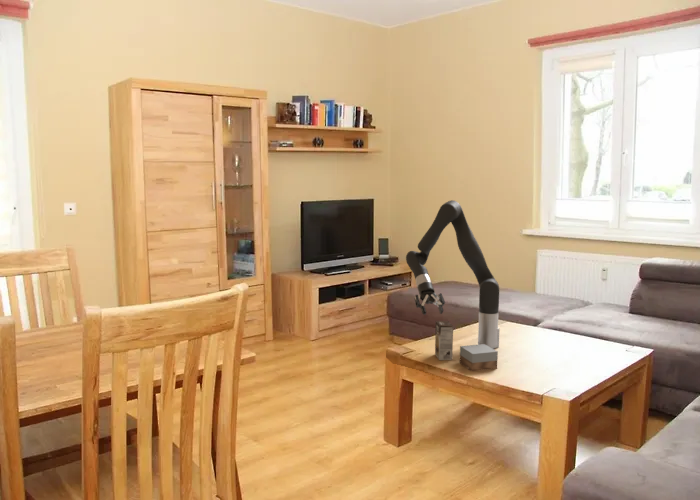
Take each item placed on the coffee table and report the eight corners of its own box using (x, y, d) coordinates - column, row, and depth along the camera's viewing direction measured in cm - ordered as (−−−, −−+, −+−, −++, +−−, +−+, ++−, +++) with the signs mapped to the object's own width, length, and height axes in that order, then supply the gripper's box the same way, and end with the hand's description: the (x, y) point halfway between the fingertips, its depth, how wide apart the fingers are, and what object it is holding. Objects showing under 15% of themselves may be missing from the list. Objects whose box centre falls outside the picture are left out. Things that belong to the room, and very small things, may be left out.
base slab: (483, 361, 281) (484, 352, 281) (497, 369, 270) (497, 360, 269) (459, 363, 278) (459, 354, 277) (472, 371, 266) (472, 362, 266)
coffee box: (434, 354, 290) (435, 320, 288) (447, 354, 291) (448, 320, 288) (438, 360, 281) (439, 325, 279) (452, 360, 282) (453, 325, 279)
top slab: (484, 352, 281) (484, 344, 280) (497, 360, 269) (497, 351, 269) (459, 354, 277) (460, 346, 277) (472, 362, 266) (472, 353, 265)
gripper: (413, 281, 300) (421, 310, 290) (440, 280, 304) (449, 308, 294) (409, 290, 305) (417, 318, 296) (435, 288, 309) (444, 316, 300)
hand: (433, 313), depth 295 cm, fingers open, 8 cm apart
